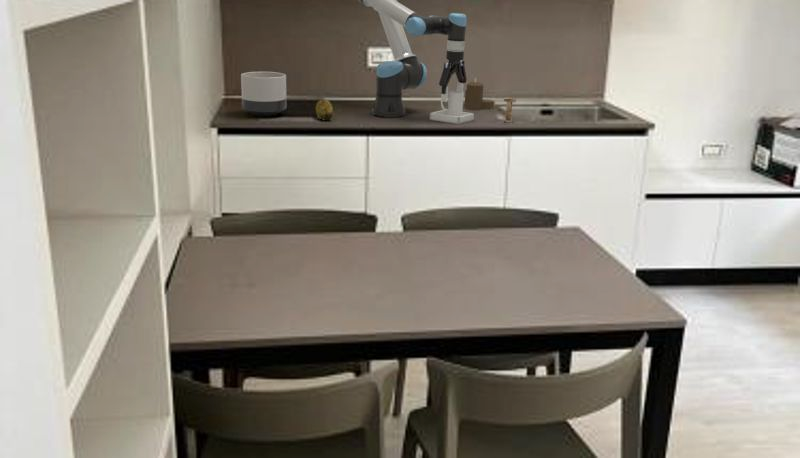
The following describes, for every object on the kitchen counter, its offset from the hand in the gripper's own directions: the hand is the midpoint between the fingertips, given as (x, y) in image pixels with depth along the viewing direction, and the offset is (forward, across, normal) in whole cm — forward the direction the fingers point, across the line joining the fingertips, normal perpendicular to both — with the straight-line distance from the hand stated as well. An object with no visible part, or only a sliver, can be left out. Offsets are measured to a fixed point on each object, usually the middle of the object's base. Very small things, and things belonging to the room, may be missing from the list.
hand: (451, 99), depth 348 cm
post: (+9, +14, -22) cm, 27 cm away
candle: (+10, +35, +6) cm, 37 cm away
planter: (+11, -48, +67) cm, 83 cm away
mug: (+9, -1, -1) cm, 9 cm away
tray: (+9, 0, -1) cm, 9 cm away
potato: (+10, -37, +42) cm, 57 cm away
